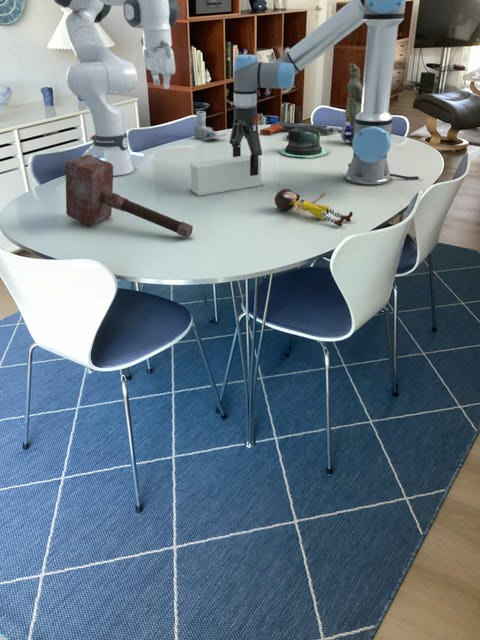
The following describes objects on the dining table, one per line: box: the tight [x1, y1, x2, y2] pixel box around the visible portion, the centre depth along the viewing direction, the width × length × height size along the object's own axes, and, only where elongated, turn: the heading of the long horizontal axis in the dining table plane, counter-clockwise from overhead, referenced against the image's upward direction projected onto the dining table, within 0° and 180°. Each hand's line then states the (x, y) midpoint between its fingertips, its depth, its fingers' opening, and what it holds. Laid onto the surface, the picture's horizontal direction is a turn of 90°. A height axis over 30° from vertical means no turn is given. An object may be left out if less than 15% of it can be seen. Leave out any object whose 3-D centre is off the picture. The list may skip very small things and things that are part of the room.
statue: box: [344, 62, 363, 127], centre depth 262 cm, size 11×9×30 cm
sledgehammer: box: [65, 154, 194, 239], centre depth 159 cm, size 17×10×40 cm
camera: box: [193, 110, 227, 141], centre depth 257 cm, size 9×12×15 cm
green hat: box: [279, 128, 328, 159], centre depth 234 cm, size 15×19×20 cm
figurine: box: [274, 188, 354, 227], centre depth 167 cm, size 13×8×25 cm
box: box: [189, 154, 262, 197], centre depth 192 cm, size 24×6×10 cm, turn 116°
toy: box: [338, 121, 355, 143], centre depth 244 cm, size 9×9×15 cm
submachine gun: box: [259, 121, 335, 140], centre depth 264 cm, size 32×3×25 cm
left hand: (161, 87), depth 184 cm, fingers open, 8 cm apart
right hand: (245, 170), depth 195 cm, fingers open, 13 cm apart
